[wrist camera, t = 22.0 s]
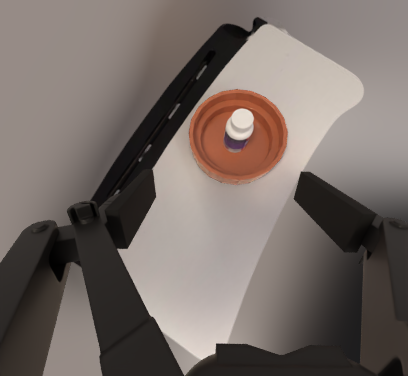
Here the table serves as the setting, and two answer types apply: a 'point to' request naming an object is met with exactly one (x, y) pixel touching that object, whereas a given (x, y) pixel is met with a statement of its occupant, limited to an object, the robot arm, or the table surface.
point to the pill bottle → (238, 130)
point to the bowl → (257, 144)
